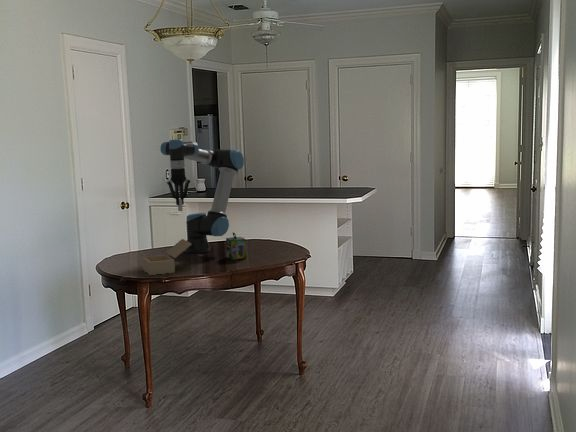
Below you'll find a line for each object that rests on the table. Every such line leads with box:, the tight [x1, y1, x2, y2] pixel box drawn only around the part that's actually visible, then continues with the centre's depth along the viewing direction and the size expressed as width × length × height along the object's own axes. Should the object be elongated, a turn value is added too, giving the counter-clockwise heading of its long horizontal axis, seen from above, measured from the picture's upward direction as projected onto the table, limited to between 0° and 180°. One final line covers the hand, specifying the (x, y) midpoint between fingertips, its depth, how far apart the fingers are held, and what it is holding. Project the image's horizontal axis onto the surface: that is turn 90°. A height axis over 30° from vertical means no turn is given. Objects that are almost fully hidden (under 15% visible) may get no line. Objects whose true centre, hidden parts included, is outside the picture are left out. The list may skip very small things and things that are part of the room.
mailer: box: [141, 254, 176, 276], centre depth 329 cm, size 15×13×7 cm
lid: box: [166, 238, 192, 259], centre depth 333 cm, size 15×11×1 cm
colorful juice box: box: [225, 231, 247, 261], centre depth 358 cm, size 9×9×15 cm
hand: (180, 210), depth 344 cm, fingers closed
